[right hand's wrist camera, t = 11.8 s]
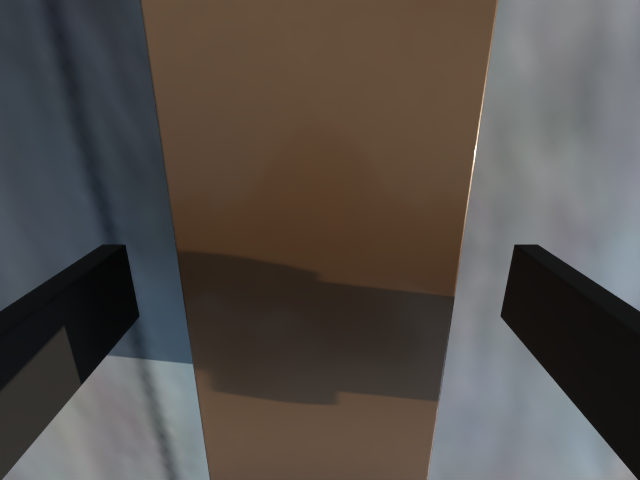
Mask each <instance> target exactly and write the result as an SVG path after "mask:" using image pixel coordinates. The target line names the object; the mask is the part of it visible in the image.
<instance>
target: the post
mask: <svg viewBox="0 0 640 480" xmlns="http://www.w3.org/2000/svg"><path fill="white" fill-rule="evenodd" d="M140 3H141V9H142V16H143V23H144V30H145V37H146V44H147V51H148V58H149V64H150V71H151V78H152V85H153V92H154V99H155V106H156V113H157V119H158V126H159V133H160V140H161V147H162V154H163V161H164V167H165V174H166V181H167V188H168V195H169V202H170V209H171V216H172V222H173V229H174V236H175V243H176V250H177V257H178V264H179V271H180V277H181V284H182V291H183V298H184V305H185V312H186V319H187V326H188V332H189V339H190V346H191V353H192V360H193V367H194V374H195V380H196V387H197V394H198V401H199V408H200V415H201V422H202V429H203V435H204V442H205V449H206V456H207V463H208V470H209V477H210V480H428V475H429V468H430V461H431V455H432V448H433V441H434V434H435V427H436V420H437V414H438V407H439V400H440V393H441V386H442V380H443V373H444V366H445V359H446V352H447V346H448V339H449V332H450V325H451V318H452V312H453V305H454V298H455V291H456V284H457V278H458V271H459V264H460V257H461V250H462V244H463V237H464V230H465V223H466V216H467V209H468V203H469V196H470V189H471V182H472V175H473V169H474V162H475V155H476V148H477V141H478V135H479V128H480V121H481V114H482V107H483V101H484V94H485V87H486V80H487V73H488V67H489V60H490V53H491V46H492V39H493V33H494V26H495V19H496V12H497V5H498V0H140Z"/></svg>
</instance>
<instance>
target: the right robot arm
mask: <svg viewBox="0 0 640 480" xmlns="http://www.w3.org/2000/svg"><path fill="white" fill-rule="evenodd" d="M138 318H139V311H138V306H137V301H136V296H135V291H134V286H133V281H132V276H131V271H130V266H129V260H128V255H127V250H126V245H101V246H99V247H98V248H96V249H95V250H93V251H92V252H90V253H89V254H87V255H86V256H84V257H83V258H81V259H80V260H78V261H77V262H75V263H74V264H72V265H70V266H69V267H67V268H66V269H64V270H63V271H61V272H60V273H58V274H57V275H55V276H54V277H52V278H51V279H49V280H48V281H46V282H45V283H43V284H41V285H40V286H38V287H37V288H35V289H34V290H32V291H31V292H29V293H28V294H26V295H25V296H23V297H22V298H20V299H19V300H17V301H16V302H14V303H12V304H11V305H9V306H8V307H6V308H5V309H3V310H2V311H0V480H2V479H3V478H4V477H5V475H6V474H7V473H8V472H9V471H10V469H11V468H12V467H13V466H14V465H15V464H16V462H17V461H18V460H19V459H20V458H21V456H22V455H23V454H24V453H25V452H26V450H27V449H28V448H29V447H30V446H31V445H32V443H33V442H34V441H35V440H36V439H37V437H38V436H39V435H40V434H41V433H42V431H43V430H44V429H45V428H46V427H47V426H48V424H49V423H50V422H51V421H52V420H53V418H54V417H55V416H56V415H57V414H58V412H59V411H60V410H61V409H62V408H63V407H64V405H65V404H66V403H67V402H68V401H69V399H70V398H71V397H72V396H73V395H74V393H75V392H76V391H77V390H78V389H79V388H80V386H81V385H82V384H83V383H84V382H85V380H86V379H87V378H88V377H89V376H90V375H91V373H92V372H93V371H94V370H95V369H96V367H97V366H98V365H99V364H100V363H101V361H102V360H103V359H104V358H105V357H106V356H107V354H108V353H109V352H110V351H111V350H112V348H113V347H114V346H115V345H116V344H117V342H118V341H119V340H120V339H121V338H122V337H123V335H124V334H125V333H126V332H127V331H128V329H129V328H130V327H131V326H132V325H133V323H134V322H135V321H136V320H137V319H138ZM501 318H502V319H503V320H504V321H505V322H506V323H507V325H508V326H509V327H510V328H511V329H512V331H513V332H514V333H515V334H516V335H517V337H518V338H519V339H520V340H521V341H522V342H523V344H524V345H525V346H526V347H527V348H528V350H529V351H530V352H531V353H532V354H533V356H534V357H535V358H536V359H537V360H538V361H539V363H540V364H541V365H542V366H543V367H544V369H545V370H546V371H547V372H548V373H549V375H550V376H551V377H552V378H553V379H554V380H555V382H556V383H557V384H558V385H559V386H560V388H561V389H562V390H563V391H564V392H565V394H566V395H567V396H568V397H569V398H570V399H571V401H572V402H573V403H574V404H575V405H576V407H577V408H578V409H579V410H580V411H581V412H582V414H583V415H584V416H585V417H586V418H587V420H588V421H589V422H590V423H591V424H592V426H593V427H594V428H595V429H596V430H597V431H598V433H599V434H600V435H601V436H602V437H603V439H604V440H605V441H606V442H607V443H608V445H609V446H610V447H611V448H612V449H613V450H614V452H615V453H616V454H617V455H618V456H619V458H620V459H621V460H622V461H623V462H624V464H625V465H626V466H627V467H628V468H629V469H630V471H631V472H632V473H633V474H634V475H635V477H636V478H637V479H638V480H640V311H638V310H637V309H635V308H634V307H632V306H631V305H629V304H628V303H626V302H624V301H623V300H621V299H620V298H618V297H617V296H615V295H614V294H612V293H611V292H609V291H608V290H606V289H605V288H603V287H602V286H600V285H599V284H597V283H595V282H594V281H592V280H591V279H589V278H588V277H586V276H585V275H583V274H582V273H580V272H579V271H577V270H576V269H574V268H573V267H571V266H570V265H568V264H566V263H565V262H563V261H562V260H560V259H559V258H557V257H556V256H554V255H553V254H551V253H550V252H548V251H547V250H545V249H544V248H542V247H541V246H539V245H514V250H513V255H512V260H511V266H510V271H509V276H508V281H507V286H506V291H505V296H504V301H503V306H502V311H501Z"/></svg>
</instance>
